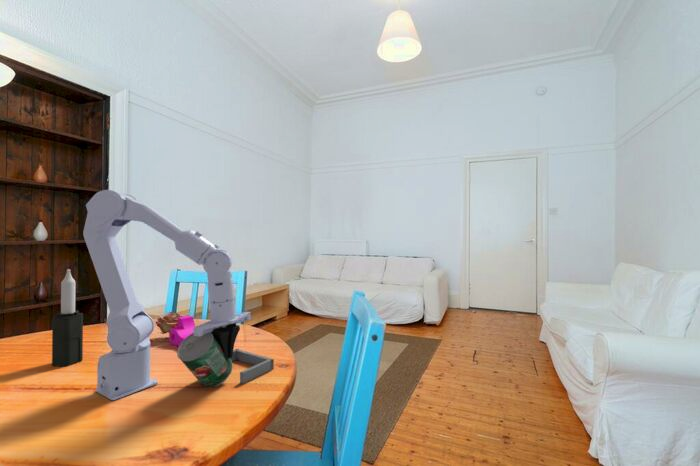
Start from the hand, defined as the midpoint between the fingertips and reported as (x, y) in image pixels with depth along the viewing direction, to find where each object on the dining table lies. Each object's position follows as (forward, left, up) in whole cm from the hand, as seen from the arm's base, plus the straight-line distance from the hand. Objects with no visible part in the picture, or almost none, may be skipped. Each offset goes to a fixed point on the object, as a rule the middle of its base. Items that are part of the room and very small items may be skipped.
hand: (227, 357), depth 78 cm
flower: (+11, +43, -6) cm, 44 cm away
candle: (-16, +45, -6) cm, 48 cm away
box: (+5, +3, -5) cm, 8 cm away
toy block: (+11, +30, -6) cm, 33 cm away
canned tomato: (-1, +3, -4) cm, 5 cm away
